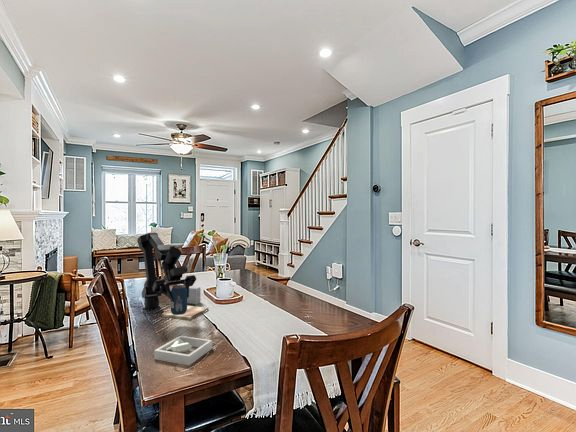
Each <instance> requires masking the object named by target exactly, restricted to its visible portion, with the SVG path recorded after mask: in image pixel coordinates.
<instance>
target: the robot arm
mask: <svg viewBox="0 0 576 432" xmlns="http://www.w3.org/2000/svg"><path fill="white" fill-rule="evenodd" d="M137 245H138V248H139V250H140V251H141V252H142V254H143V261H144V268H145V277H146V279H145V281H144V284H143V289H142V291H141V293H140V294H141V298H142V299H144V307H143V308H142V310H145V311H146V310H147V311H155V310H156V309H159V308H161V305H160V299H159V297H161V296H162V295H164V296H165V297H167V298H168V299H169V300H170V301H171V300H172V301H173V300H174V299H173V296H172V293H171V289H170V287H173V286H176V285H185V286H186V288H187V298H188V297H189V286H190V287H194V284H195V283H196V281H197V277H196V275H194V274H191V275H186V276H185V278H184V279H182V278H183V275H185V274H186V273H187V272H188V267H187V265H186V264H185V265H182V266H176V264H177V263H179V260H180V258H181V256H182V251H181V250H180V249H179V248H177V247H176V245H173V246H172V245H171V246H168V245H165V244H164V242H163V241H162V239H161V238H160V237H159V234H158V232H155V231H154V232H147V233H145V234H143V235H139V237H137ZM154 250H155V255H154ZM154 256H155V258H154ZM155 259H156V260H157V261H158V262H161V267H160V269H161V270H163V273H164V277H163V278H164V279H163V278H162V279H160V278H158V277H157V271H156V266H155V265H156V264H155Z"/></svg>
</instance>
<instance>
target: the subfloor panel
mask: <svg viewBox="0 0 576 432" xmlns="http://www.w3.org/2000/svg"><path fill="white" fill-rule="evenodd" d="M206 310H208V311H209V307H205V306H204V307H203V306H193V305H187V311H186V313H185V314H182V315H173V314H172V312H171V309H169V310H167V311H164V312H163V313H161V317H162V318H163V317H164V318H172V319H179V320H187V321H190V320H192V319H195V318H197V317H198V316H200V315H202V314H204V313H206V312H207V311H206ZM205 311H206V312H205ZM203 312H204V313H203Z"/></svg>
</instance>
